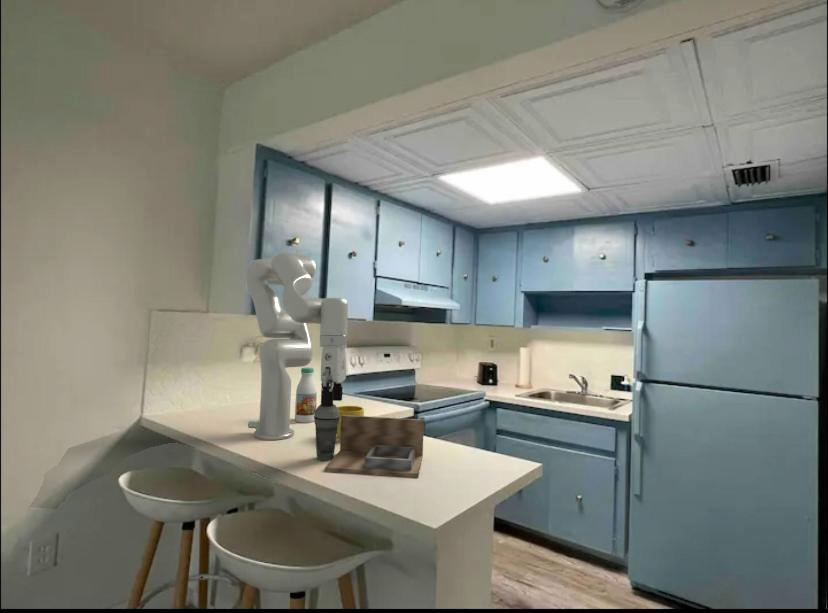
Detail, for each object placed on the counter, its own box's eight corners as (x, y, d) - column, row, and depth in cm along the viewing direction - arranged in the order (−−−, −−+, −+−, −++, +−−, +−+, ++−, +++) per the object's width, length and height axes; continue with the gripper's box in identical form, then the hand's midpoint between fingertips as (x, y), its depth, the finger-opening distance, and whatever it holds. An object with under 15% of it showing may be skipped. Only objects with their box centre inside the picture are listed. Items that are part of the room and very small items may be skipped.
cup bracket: (324, 471, 114) (326, 428, 114) (340, 452, 129) (342, 415, 130) (418, 477, 111) (419, 433, 112) (422, 458, 127) (423, 419, 128)
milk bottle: (290, 421, 166) (292, 367, 167) (305, 417, 173) (308, 366, 173) (304, 424, 162) (306, 369, 163) (319, 420, 168) (322, 368, 169)
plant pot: (324, 438, 144) (325, 408, 145) (346, 432, 153) (347, 404, 153) (347, 444, 138) (348, 413, 139) (369, 438, 147) (370, 408, 147)
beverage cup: (330, 464, 119) (334, 389, 120) (306, 460, 121) (310, 387, 122) (342, 456, 126) (345, 386, 127) (319, 453, 128) (322, 384, 129)
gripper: (338, 343, 116) (336, 409, 115) (353, 341, 133) (352, 398, 132) (310, 342, 116) (308, 408, 115) (329, 340, 134) (327, 398, 133)
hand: (331, 403), depth 124 cm, fingers open, 9 cm apart
